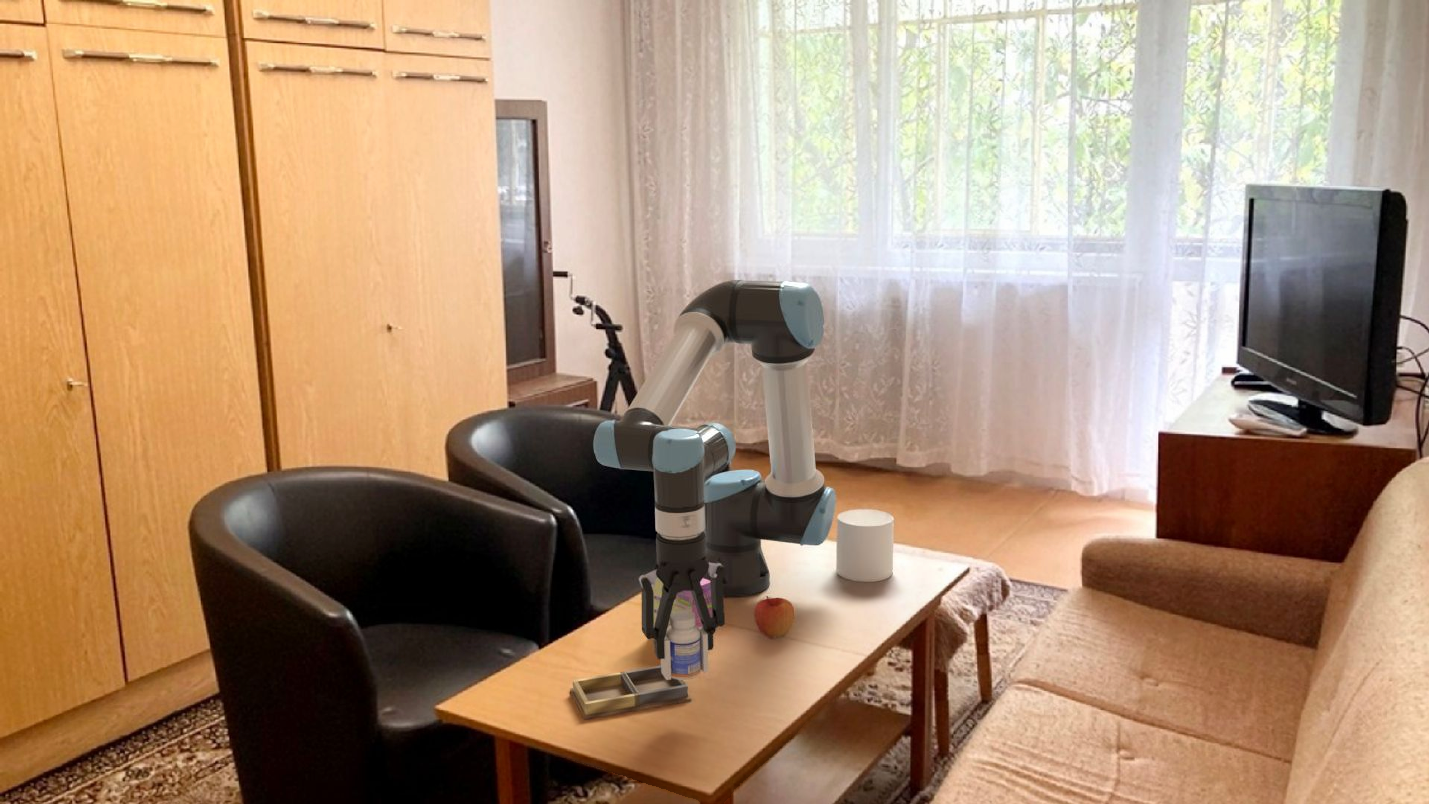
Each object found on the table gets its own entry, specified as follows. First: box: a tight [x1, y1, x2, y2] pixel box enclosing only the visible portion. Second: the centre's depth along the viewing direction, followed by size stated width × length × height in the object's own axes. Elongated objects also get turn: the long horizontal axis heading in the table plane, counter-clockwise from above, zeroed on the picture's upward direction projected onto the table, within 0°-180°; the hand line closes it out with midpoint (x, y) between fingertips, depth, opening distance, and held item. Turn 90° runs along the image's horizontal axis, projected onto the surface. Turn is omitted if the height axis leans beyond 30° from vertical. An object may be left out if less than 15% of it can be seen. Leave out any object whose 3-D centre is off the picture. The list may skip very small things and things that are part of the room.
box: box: [652, 578, 712, 629], centre depth 206 cm, size 10×6×12 cm, turn 47°
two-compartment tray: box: [569, 665, 692, 720], centre depth 186 cm, size 18×10×2 cm, turn 110°
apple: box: [754, 596, 796, 640], centre depth 207 cm, size 7×7×8 cm
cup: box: [835, 508, 895, 583], centre depth 238 cm, size 12×12×12 cm
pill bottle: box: [666, 611, 702, 681], centre depth 177 cm, size 5×5×10 cm
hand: (684, 672), depth 178 cm, fingers closed on pill bottle, 5 cm apart
